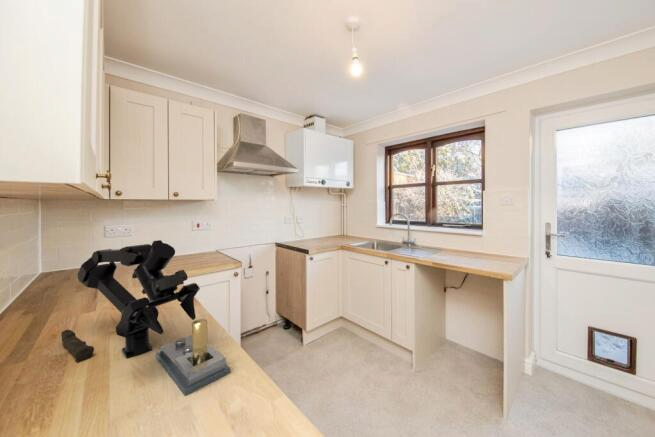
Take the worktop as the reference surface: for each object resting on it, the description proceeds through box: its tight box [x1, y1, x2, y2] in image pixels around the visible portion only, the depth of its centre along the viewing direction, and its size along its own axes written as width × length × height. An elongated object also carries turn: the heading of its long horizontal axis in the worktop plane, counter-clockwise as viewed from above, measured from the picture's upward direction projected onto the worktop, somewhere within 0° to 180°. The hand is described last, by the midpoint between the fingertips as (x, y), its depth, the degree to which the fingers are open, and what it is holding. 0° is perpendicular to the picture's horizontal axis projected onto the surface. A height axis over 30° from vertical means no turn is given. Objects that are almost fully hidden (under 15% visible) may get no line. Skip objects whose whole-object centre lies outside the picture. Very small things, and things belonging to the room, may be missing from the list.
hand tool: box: [61, 329, 95, 364], centre depth 77 cm, size 19×4×5 cm, turn 56°
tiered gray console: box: [155, 335, 231, 397], centre depth 70 cm, size 22×11×4 cm, turn 49°
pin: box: [191, 318, 208, 366], centre depth 66 cm, size 4×4×12 cm
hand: (179, 325), depth 69 cm, fingers open, 9 cm apart
